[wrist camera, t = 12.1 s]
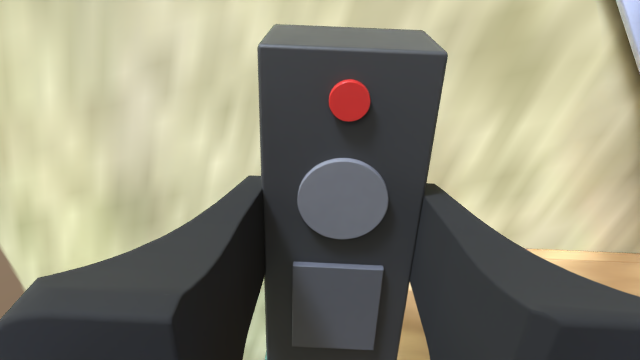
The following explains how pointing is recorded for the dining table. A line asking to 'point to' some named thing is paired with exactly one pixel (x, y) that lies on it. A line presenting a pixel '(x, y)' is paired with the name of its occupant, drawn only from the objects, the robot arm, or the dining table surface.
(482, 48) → the dining table surface
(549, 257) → the cabinet
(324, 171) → the remote
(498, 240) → the robot arm
